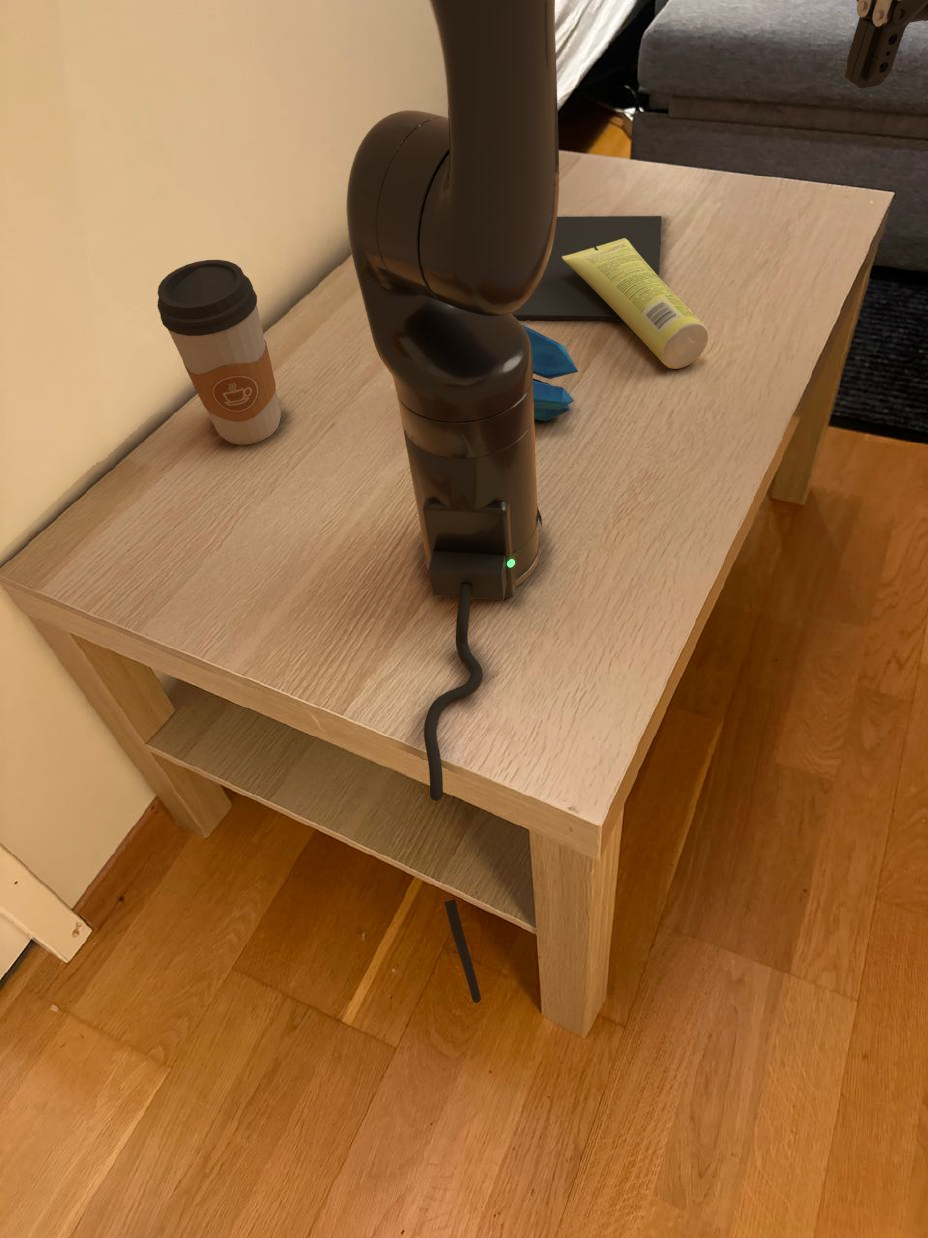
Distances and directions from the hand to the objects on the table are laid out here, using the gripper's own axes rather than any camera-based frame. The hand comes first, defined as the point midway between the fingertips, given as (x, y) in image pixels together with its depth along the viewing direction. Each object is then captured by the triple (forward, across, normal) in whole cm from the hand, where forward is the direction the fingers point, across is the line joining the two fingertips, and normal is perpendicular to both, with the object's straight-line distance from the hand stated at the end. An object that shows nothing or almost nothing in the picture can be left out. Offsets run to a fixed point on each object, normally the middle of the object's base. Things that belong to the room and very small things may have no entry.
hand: (863, 82), depth 61 cm
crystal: (+29, -9, -20) cm, 36 cm away
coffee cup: (+31, -18, -44) cm, 57 cm away
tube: (+25, -7, -4) cm, 26 cm away
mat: (+28, -30, -7) cm, 42 cm away
